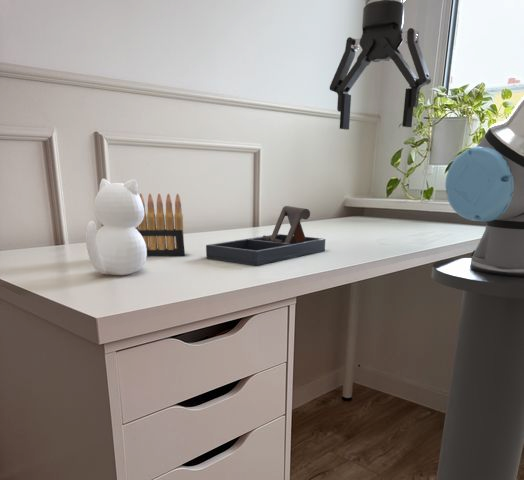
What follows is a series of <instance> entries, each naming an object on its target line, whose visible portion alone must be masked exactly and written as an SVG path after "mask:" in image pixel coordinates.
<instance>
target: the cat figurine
mask: <svg viewBox="0 0 524 480" xmlns="http://www.w3.org/2000/svg"><path fill="white" fill-rule="evenodd" d="M93 211H94V214H95V217H96V219H97V220H98V221H99V223H100V224H101V225H103V226H101V227H100V228H99V229H98V230H97V225H96V222H95V221H94V220H89V222H88V223H87V225H86V228H85V244H86V245H85V246H86V250H87V254H88V257H89V258H88V259H89V260H90V263H91V265H92V267H93V269H95V271H96V272H98V273H99V274H102V275H111V276H126V275H130V274H133V273H136V272H138V271H140V270H142V269H143V268H144V266H145V265H146V262H147V258H148V256H147V249H146V244H145V241H144V239H143V237H142V235H141V234H140V233H139V232H138V230H137V229H135V228H136V227H138V228H139V225H140V224H141V222H142V221H143V218H144V207H143V203H142V200H141V198H140V193H139V185H138V181H137V179H136V178H131V179H129V180H128V181H126V182H125V183H123V182H110V181H109V180H108V179H106V178H102V179H101V180H100V183H99V188H98V192H97V194H96V196H95V198H94V203H93Z"/></svg>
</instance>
